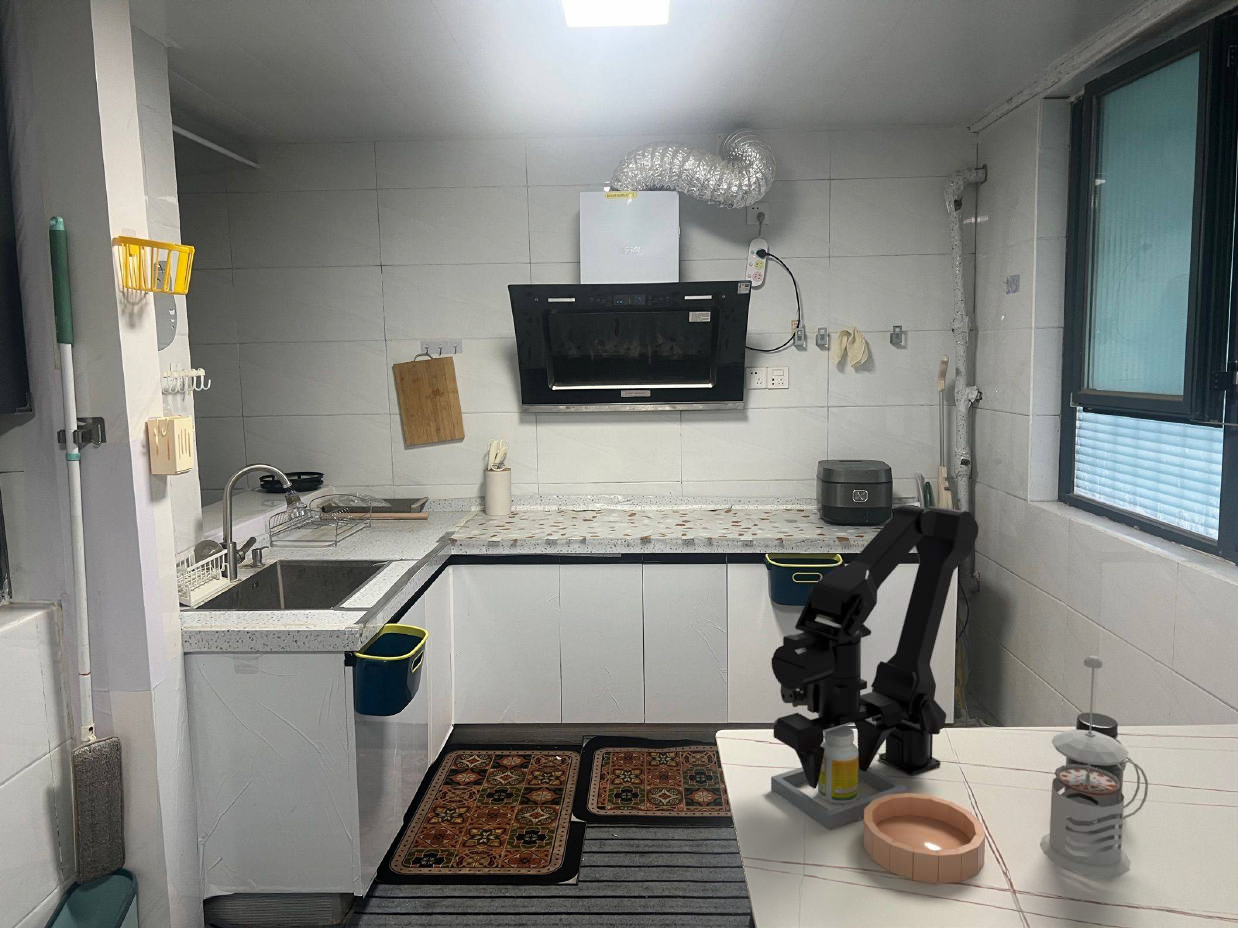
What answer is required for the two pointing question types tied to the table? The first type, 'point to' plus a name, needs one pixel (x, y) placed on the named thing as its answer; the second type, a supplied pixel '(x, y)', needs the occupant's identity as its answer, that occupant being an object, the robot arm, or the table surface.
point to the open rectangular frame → (839, 815)
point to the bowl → (924, 838)
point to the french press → (1089, 802)
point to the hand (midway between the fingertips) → (838, 778)
